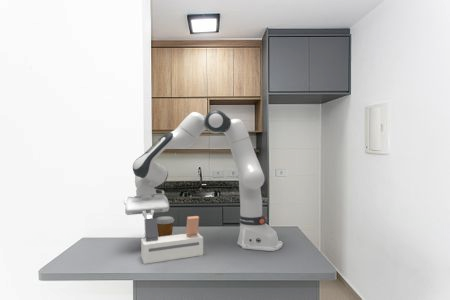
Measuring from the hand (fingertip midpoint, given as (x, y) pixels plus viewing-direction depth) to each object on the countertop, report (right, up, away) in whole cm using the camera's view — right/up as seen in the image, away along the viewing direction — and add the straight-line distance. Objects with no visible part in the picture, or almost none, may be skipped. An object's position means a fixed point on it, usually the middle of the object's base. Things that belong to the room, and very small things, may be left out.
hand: (149, 220), depth 138 cm
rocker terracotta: (+20, -6, 0) cm, 21 cm away
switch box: (+11, -15, -4) cm, 19 cm away
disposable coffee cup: (+4, -15, +18) cm, 24 cm away
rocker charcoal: (+3, -6, -7) cm, 10 cm away
